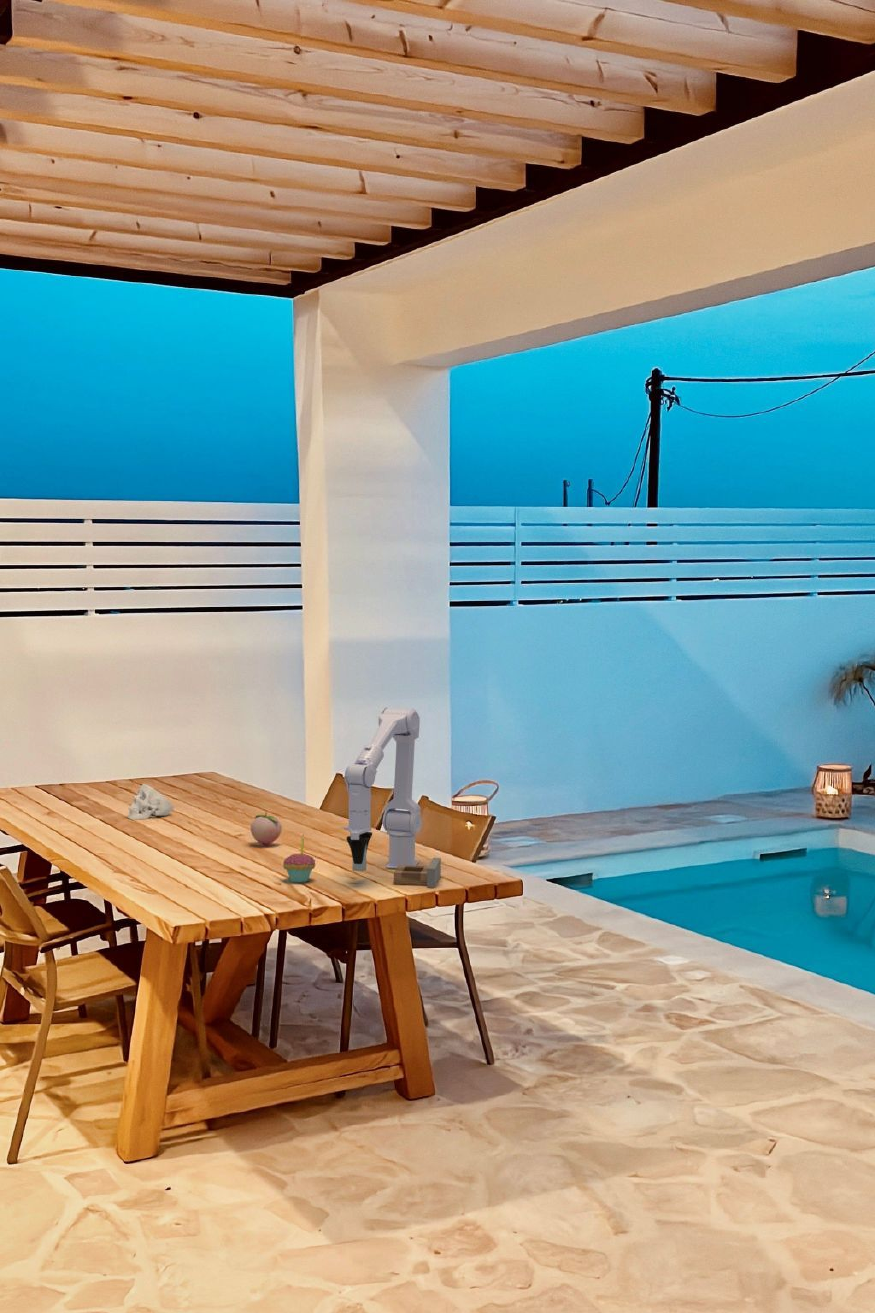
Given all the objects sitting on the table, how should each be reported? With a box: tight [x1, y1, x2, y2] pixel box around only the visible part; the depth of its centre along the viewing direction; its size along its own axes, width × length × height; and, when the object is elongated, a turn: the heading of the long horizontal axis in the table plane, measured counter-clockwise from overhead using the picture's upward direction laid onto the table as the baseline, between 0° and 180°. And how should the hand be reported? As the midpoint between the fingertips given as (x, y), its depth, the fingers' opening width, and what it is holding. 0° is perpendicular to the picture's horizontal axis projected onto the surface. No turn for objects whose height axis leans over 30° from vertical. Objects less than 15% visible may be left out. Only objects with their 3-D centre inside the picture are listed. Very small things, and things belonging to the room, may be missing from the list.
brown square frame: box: [393, 865, 429, 886], centre depth 348 cm, size 9×9×3 cm
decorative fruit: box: [250, 812, 283, 846], centre depth 393 cm, size 9×8×10 cm
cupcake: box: [282, 833, 316, 884], centre depth 347 cm, size 9×8×12 cm
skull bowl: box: [127, 783, 175, 821], centre depth 440 cm, size 10×14×12 cm
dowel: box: [352, 847, 367, 872], centre depth 344 cm, size 4×4×7 cm
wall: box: [426, 857, 442, 889], centre depth 347 cm, size 14×2×5 cm, turn 174°
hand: (359, 862), depth 344 cm, fingers closed on dowel, 4 cm apart
